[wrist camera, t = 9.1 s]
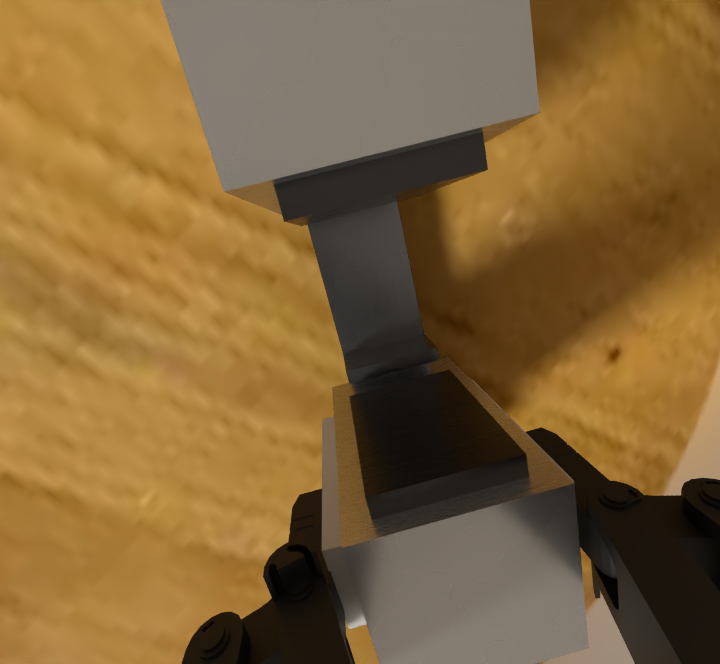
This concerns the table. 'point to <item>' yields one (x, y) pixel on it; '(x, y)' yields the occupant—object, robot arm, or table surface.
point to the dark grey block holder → (356, 130)
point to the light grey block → (454, 524)
